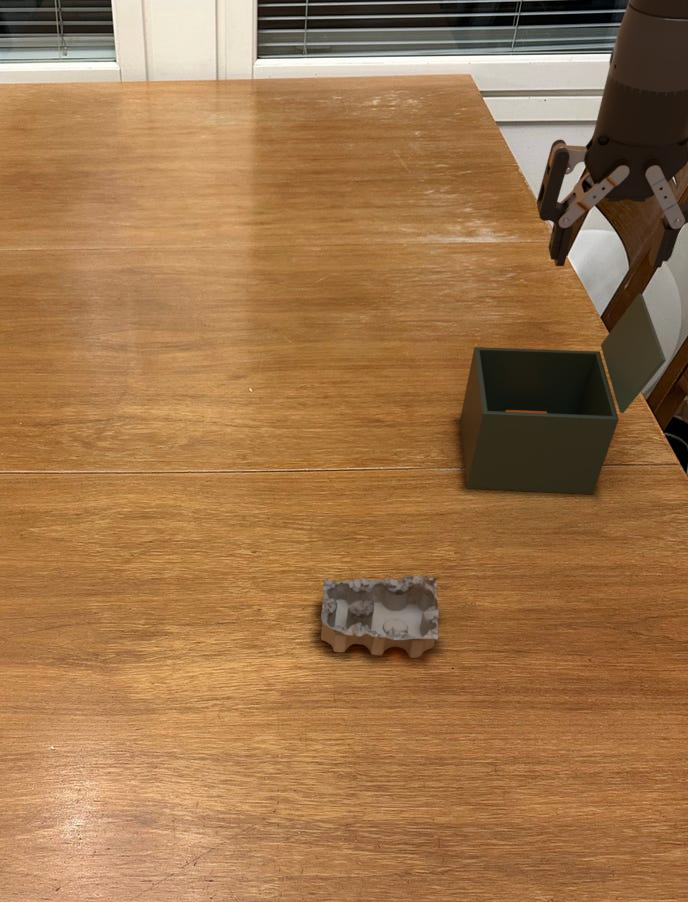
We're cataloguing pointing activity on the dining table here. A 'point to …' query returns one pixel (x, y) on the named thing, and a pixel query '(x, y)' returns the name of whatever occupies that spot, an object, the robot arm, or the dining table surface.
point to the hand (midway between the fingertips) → (606, 262)
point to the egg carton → (381, 614)
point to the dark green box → (536, 420)
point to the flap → (632, 353)
